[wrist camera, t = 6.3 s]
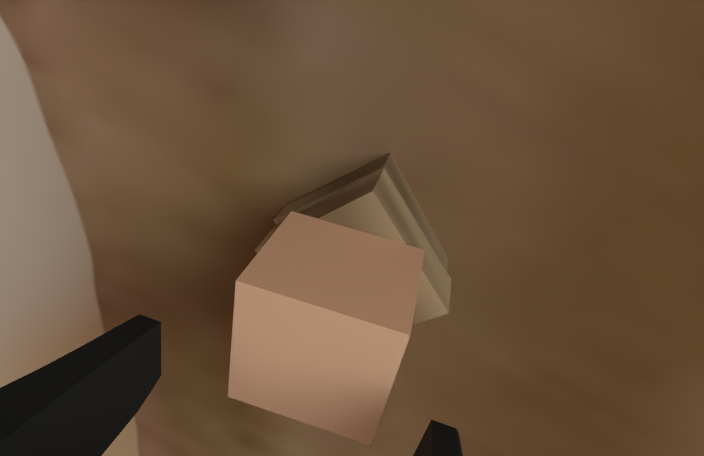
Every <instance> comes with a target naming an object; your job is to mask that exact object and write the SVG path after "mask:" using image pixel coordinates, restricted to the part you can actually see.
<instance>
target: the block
mask: <svg viewBox="0 0 704 456" xmlns="http://www.w3.org/2000/svg"><path fill="white" fill-rule="evenodd" d="M424 254H425V250H423V249H420V248H417V247H413V246H410V245H406V244H403V243H399V242H396V241H393V240H389V239H386V238H382V237H379V236H376V235H372V234H369V233H365V232H362V231H358V230H355V229H352V228H348V227H345V226H341V225H338V224H334V223H331V222H328V221H324V220H321V219H317V218H314V217H310V216H307V215H304V214H300V213H297V212H293V211H291V212H290V213H289V215H288V216H287V217H286V218H285V220H284V221H283V222H282V223H281V225H280V226H279V227H278V228H277V230H276V231H275V232H274V233H273V235H272V236H271V237H270V238H269V240H268V241H267V242H266V243H265V245H264V246H263V247H262V248H261V250H260V251H259V252H258V253H257V255H256V256H255V257H254V258H253V260H252V261H251V262H250V263H249V265H248V266H247V267H246V268H245V270H244V271H243V272H242V273H241V275H240V276H239V277H238V278H237V280H236V284H235V299H234V313H233V328H232V342H231V356H230V371H229V385H228V397H230V398H233V399H236V400H239V401H242V402H245V403H248V404H251V405H254V406H257V407H259V408H262V409H265V410H268V411H271V412H274V413H277V414H280V415H283V416H286V417H289V418H291V419H294V420H297V421H300V422H303V423H306V424H309V425H312V426H315V427H318V428H320V429H323V430H326V431H329V432H332V433H335V434H338V435H341V436H344V437H347V438H349V439H352V440H355V441H358V442H361V443H364V444H367V445H370V446H371V444H372V441H373V438H374V435H375V432H376V430H377V427H378V424H379V421H380V419H381V416H382V413H383V410H384V407H385V405H386V402H387V399H388V396H389V393H390V391H391V388H392V385H393V382H394V379H395V377H396V374H397V371H398V368H399V365H400V363H401V360H402V357H403V354H404V352H405V349H406V346H407V343H408V340H409V338H410V334H411V328H412V323H413V317H414V311H415V305H416V300H417V294H418V288H419V282H420V277H421V271H422V265H423V259H424Z"/></svg>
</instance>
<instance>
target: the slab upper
mask: <svg viewBox="0 0 704 456" xmlns="http://www.w3.org/2000/svg"><path fill="white" fill-rule="evenodd" d="M299 213H300V214H304V215H307V216H310V217H314V218H317V219H321V220H324V221H328V222H331V223H334V224H338V225H341V226H345V227H348V228H352V229H355V230H358V231H362V232H365V233H369V234H372V235H376V236H379V237H382V238H386V239H389V240H393V241H396V242H399V243H403V244H406V245H410V246H413V247H417V248H420V249H423V250H425V254H424V259H423V265H422V271H421V277H420V282H419V288H418V294H417V300H416V305H415V311H414V317H413V323H412V325H414V324H417V323H420V322H423V321H426V320H429V319H432V318H435V317H438V316H441V315H444V314H448V313H449V303H450V290H451V278H450V277H449V275H448V273H447V272H446V270H445V268H444V267H443V265H442V263H441V262H440V260H439V259H438V257H437V255H436V254H435V252H434V250H433V249H432V247H431V245H430V244H429V242H428V240H427V239H426V237H425V235H424V234H423V232H422V230H421V229H420V227H419V225H418V224H417V222H416V220H415V219H414V217H413V215H412V214H411V212H410V210H409V209H408V207H407V205H406V204H405V202H404V200H403V199H402V197H401V195H400V194H399V192H398V190H397V189H396V187H395V185H394V184H393V182H392V180H391V179H390V177H389V175H388V174H387V172H386V170H385V169H382V170H380V171H378V172H376V173H374V174H372V175H370V176H368V177H367V178H365V179H363V180H361V181H359V182H357V183H355V184H353V185H351V186H349V187H347V188H345V189H343V190H341V191H339V192H338V193H336V194H334V195H332V196H330V197H328V198H326V199H324V200H322V201H320V202H318V203H316V204H314V205H312V206H310V207H309V208H307V209H305V210H303V211H301V212H299ZM283 221H284V220H283ZM283 221H281V222H280V223H278V224H276V225H275V226H274V227H273V228H272V230H271V231H270V232H269V233H268V234H267V236H266V237H265V238H264V239H263V240H262V242H261V243H260V244H259V245H258V246H257V248H256V249H255V252H256V253H258V252H259V251H260V250H261V248H262V247H263V246H264V245H265V243H266V242H267V241H268V240H269V238H270V237H271V236H272V235H273V233H274V232H275V231H276V230H277V228H278V227H279V226H280V225H281V223H282V222H283Z"/></svg>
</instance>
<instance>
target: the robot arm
mask: <svg viewBox="0 0 704 456" xmlns="http://www.w3.org/2000/svg"><path fill="white" fill-rule="evenodd" d="M160 376H161V322H159V321H156V320H154V319H151V318H148V317H145V316H142V315H140V314H139V315H137V316H135V317H133V318H132V319H130V320H128V321H126V322H124V323H123V324H121V325H119V326H117V327H115V328H114V329H112V330H110V331H108V332H106V333H105V334H103V335H101V336H99V337H98V338H96V339H94V340H92V341H90V342H89V343H87V344H85V345H83V346H81V347H80V348H78V349H76V350H74V351H72V352H70V353H68V354H66V355H64V356H63V357H61V358H59V359H57V360H55V361H53V362H51V363H50V364H48V365H46V366H44V367H42V368H40V369H38V370H36V371H34V372H32V373H30V374H28V375H26V376H24V377H22V378H20V379H18V380H16V381H13V382H11V383H9V384H7V385H5V386H3V387H1V388H0V456H101V455H102V454H103V453H104V452H105V450H106V449H107V448H108V447H109V445H110V444H111V443H112V442H113V441H114V439H115V438H116V437H117V436H118V435H119V433H120V432H121V431H122V430H123V429H124V427H125V426H126V425H127V424H128V422H129V421H130V420H131V419H132V418H133V416H134V415H135V414H136V413H137V411H138V410H139V408H140V407H141V405H142V404H143V402H144V401H145V399H146V398H147V396H148V395H149V393H150V392H151V390H152V389H153V387H154V386H155V384H156V382H157V381H158V379H159V378H160ZM413 456H463V454H462V449H461V443H460V438H459V433H458V431H457V429H456V428H453V427H450V426H447V425H445V424H442V423H439V422H436V421H434V420H431V422H430V424H429V426H428V428H427V430H426V432H425V434H424V436H423V438H422V440H421V441H420V443H419V445H418V447H417V449H416V451H415V453H414V455H413Z"/></svg>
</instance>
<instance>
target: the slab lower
mask: <svg viewBox="0 0 704 456" xmlns="http://www.w3.org/2000/svg"><path fill="white" fill-rule="evenodd" d="M382 169H385V170H386V172H387V174H388V175H389V177H390V179H391V180H392V182H393V184H394V185H395V187H396V189H397V190H398V192H399V194H400V195H401V197H402V199H403V200H404V202H405V204H406V205H407V207H408V209H409V210H410V212H411V214H412V215H413V217H414V219H415V220H416V222H417V224H418V225H419V227H420V229H421V230H422V232H423V234H424V235H425V237H426V239H427V240H428V242H429V244H430V245H431V247H432V249H433V250H434V252H435V254H436V255H437V257H438V259H439V260H440V262H441V263H442V265H443V267H444V268H445V270H446V272H447V269H448V257H447V255H446V253H445V251H444V250H443V248H442V246H441V244H440V242H439V240H438V239H437V237H436V235H435V233H434V231H433V229H432V228H431V226H430V224H429V222H428V220H427V218H426V217H425V215H424V213H423V211H422V209H421V208H420V206H419V204H418V202H417V200H416V198H415V197H414V195H413V193H412V191H411V189H410V187H409V186H408V184H407V182H406V180H405V178H404V176H403V175H402V173H401V171H400V169H399V167H398V166H397V164H396V162H395V160H394V158H393V156H392V155H391V153H390V154H388V155H385V156H383V157H381V158H379V159H377V160H375V161H373V162H371V163H369V164H367V165H365V166H363V167H361V168H359V169H357V170H355V171H353V172H351V173H349V174H347V175H345V176H343V177H341V178H338V179H336V180H334V181H332V182H330V183H328V184H326V185H324V186H322V187H320V188H318V189H316V190H314V191H312V192H310V193H308V194H306V195H304V196H302V197H300V198H298V199H296V200H294V201H291V202H289V203H287V205H286V206H285V207H284V208H283V209H282V210H281V212H280V213H279V214H278V215H277V216H276V217H275V218H274V220H273V221H274V223H275V224H278V223H280V222H281V221H283V220H285V218H286V217H287V216H288V215H289V213H290V212H291V211H293V212H297V213H299V212H301V211H303V210H305V209H307V208H309V207H310V206H312V205H314V204H316V203H318V202H320V201H322V200H324V199H326V198H328V197H330V196H332V195H334V194H336V193H338V192H339V191H341V190H343V189H345V188H347V187H349V186H351V185H353V184H355V183H357V182H359V181H361V180H363V179H365V178H367V177H368V176H370V175H372V174H374V173H376V172H378V171H380V170H382Z"/></svg>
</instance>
